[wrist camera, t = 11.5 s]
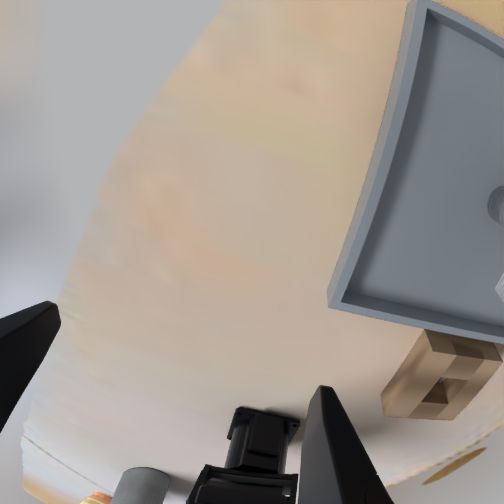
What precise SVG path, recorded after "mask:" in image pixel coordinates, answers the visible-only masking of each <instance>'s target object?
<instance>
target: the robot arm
mask: <svg viewBox="0 0 504 504" xmlns="http://www.w3.org/2000/svg"><path fill="white" fill-rule="evenodd" d="M60 326H61V319H60V315H59V310H58V306H57V305H56V304H55V303H53V302H50V301H45V302H42V303H39V304H37V305H34V306H31V307H29V308H26V309H24V310H21V311H19V312H16V313H14V314H11V315H9V316H6V317H4V318H1V319H0V433H1V431H2V429H3V427H4V425H5V424H6V422H7V420H8V418H9V416H10V414H11V413H12V411H13V409H14V407H15V406H16V404H17V402H18V401H19V399H20V397H21V395H22V393H23V392H24V390H25V389H26V387H27V385H28V384H29V382H30V380H31V379H32V377H33V375H34V374H35V372H36V371H37V369H38V368H39V366H40V364H41V363H42V361H43V359H44V357H45V356H46V354H47V352H48V350H49V348H50V346H51V344H52V342H53V340H54V338H55V336H56V334H57V332H58V331H59V329H60ZM299 427H300V421H299V420H295V419H289V418H284V417H279V416H274V415H270V414H265V413H261V412H256V411H252V410H248V409H243V408H237V409H236V410H235V413H234V417H233V420H232V423H231V426H230V429H229V432H228V436H227V439H229V440H231V443H230V447H229V451H228V455H227V459H226V463H225V467H224V468H221V467H215V466H212V465H208V464H206V465H205V467H204V469H203V470H202V471H201V473H200V475H199V477H198V479H197V481H196V483H195V486H194V488H193V490H192V492H191V494H190V496H189V497H188V499H187V500H186V504H295V502H296V492H297V483H298V474H284V473H285V466H286V458H287V449H288V444H289V442H290V441H291V439H292V438H293V436H294V435H295V433H296V432H297V430H298V428H299ZM285 495H290V497H286V496H285ZM298 504H394V502H393V501H392V499H391V498H390V496H389V495H388V492H387V491H386V489H385V487H384V485H383V483H382V481H381V480H380V478H379V476H378V475H377V472H376V470H375V468H374V466H373V464H372V462H371V460H370V458H369V456H368V454H367V453H366V451H365V449H364V447H363V445H362V443H361V441H360V439H359V437H358V435H357V433H356V431H355V429H354V427H353V425H352V424H351V422H350V420H349V418H348V416H347V414H346V412H345V410H344V408H343V406H342V404H341V402H340V401H339V399H338V397H337V395H336V393H335V391H334V389H333V388H332V387H329V386H324V385H320V386H319V387H318V388H317V390H316V392H315V393H314V395H313V397H312V399H311V401H310V404H309V409H308V415H307V421H306V426H305V432H304V438H303V443H302V452H301V468H300V483H299V496H298Z"/></svg>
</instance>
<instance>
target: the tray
mask: <svg viewBox="0 0 504 504" xmlns="http://www.w3.org/2000/svg"><path fill="white" fill-rule="evenodd" d="M500 186H504V40H503V39H502V38H500V37H499V36H497V35H495V34H494V33H492V32H491V31H489V30H487V29H486V28H484V27H482V26H480V25H479V24H477V23H475V22H473V21H472V20H470V19H468V18H466V17H464V16H462V15H460V14H459V13H457V12H455V11H453V10H451V9H449V8H447V7H444V6H442V5H440V4H438V3H436V2H434V1H432V0H411V1H410V2H409V3H408V4H407V10H406V16H405V21H404V27H403V32H402V37H401V42H400V47H399V52H398V57H397V61H396V66H395V70H394V75H393V79H392V84H391V88H390V92H389V96H388V100H387V104H386V108H385V112H384V116H383V120H382V123H381V127H380V131H379V134H378V138H377V142H376V145H375V149H374V152H373V156H372V159H371V163H370V166H369V169H368V173H367V176H366V179H365V182H364V186H363V189H362V192H361V195H360V198H359V201H358V204H357V208H356V211H355V214H354V217H353V220H352V223H351V226H350V228H349V231H348V234H347V237H346V240H345V243H344V246H343V249H342V251H341V254H340V257H339V260H338V262H337V265H336V268H335V271H334V273H333V276H332V279H331V281H330V284H329V286H328V289H327V296H328V308H332V309H337V310H341V311H345V312H350V313H354V314H358V315H363V316H367V317H372V318H376V319H381V320H385V321H390V322H394V323H399V324H404V325H408V326H413V327H418V328H423V329H428V330H432V331H437V332H442V333H447V334H452V335H457V336H463V337H468V338H473V339H478V340H484V341H489V342H495V343H500V344H504V302H503V300H502V299H501V298H500V296H499V295H498V293H497V292H496V291H495V287H496V285H497V284H498V282H499V280H500V278H501V276H502V274H503V272H504V228H503V227H502V226H500V225H499V224H498V223H497V222H496V221H494V220H493V219H492V218H491V217H490V215H489V213H488V209H487V204H488V199H489V197H490V195H491V193H492V192H493V190H495V189H496V188H497V187H500Z"/></svg>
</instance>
